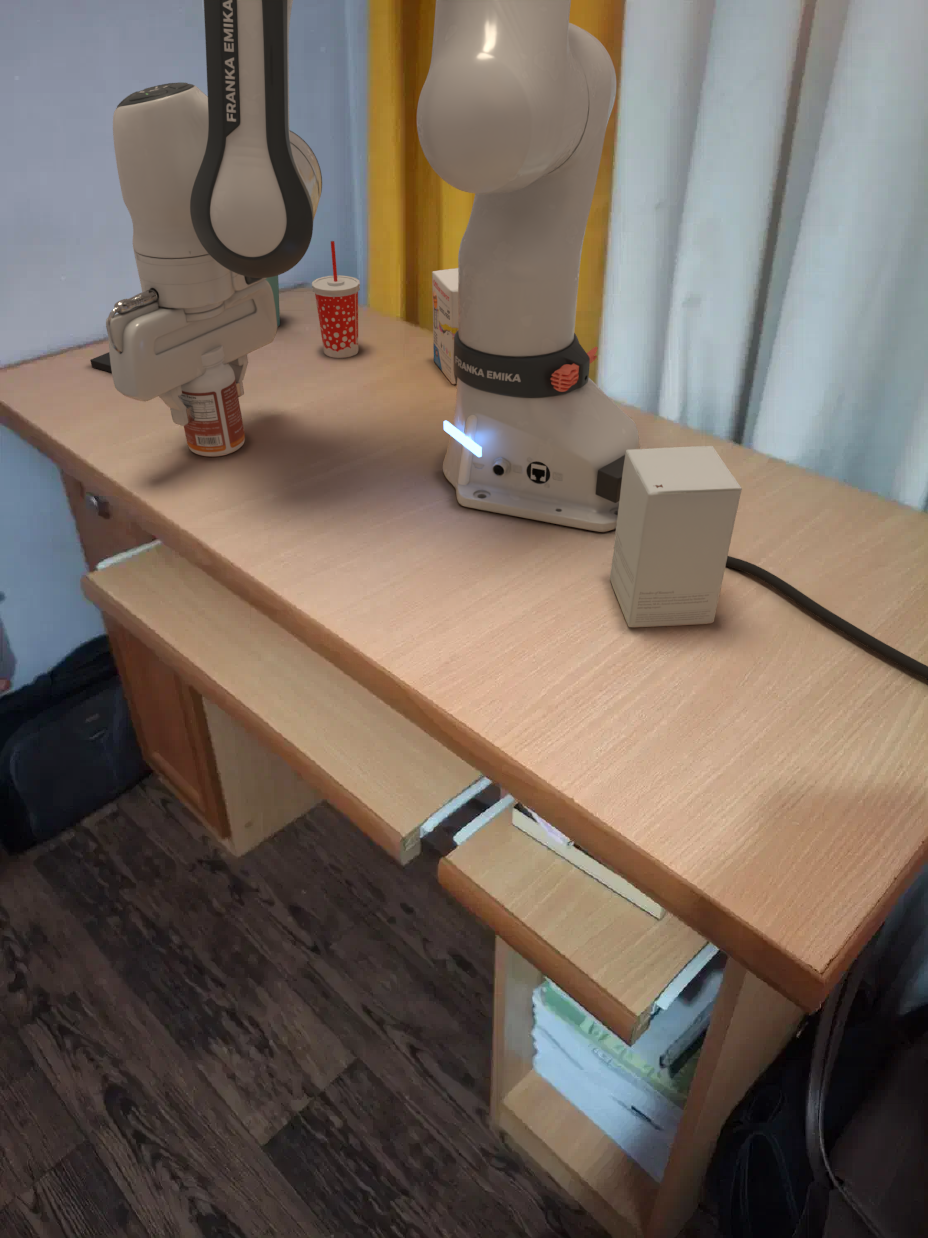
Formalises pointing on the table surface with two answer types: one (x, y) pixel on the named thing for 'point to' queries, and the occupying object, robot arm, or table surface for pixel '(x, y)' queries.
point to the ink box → (445, 319)
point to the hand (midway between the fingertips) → (210, 409)
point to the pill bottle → (214, 408)
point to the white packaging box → (673, 535)
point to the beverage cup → (338, 312)
